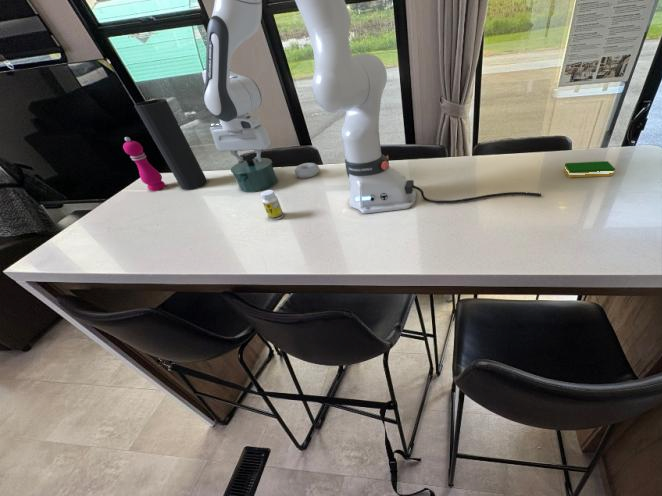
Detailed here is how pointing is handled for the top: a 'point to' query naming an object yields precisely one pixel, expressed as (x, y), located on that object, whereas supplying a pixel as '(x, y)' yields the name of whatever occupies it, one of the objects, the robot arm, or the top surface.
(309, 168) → the donut
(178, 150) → the vase
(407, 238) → the top surface
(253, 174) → the pot
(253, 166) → the lid
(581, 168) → the dish sponge
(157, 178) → the pepper mill
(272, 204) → the supplement bottle
